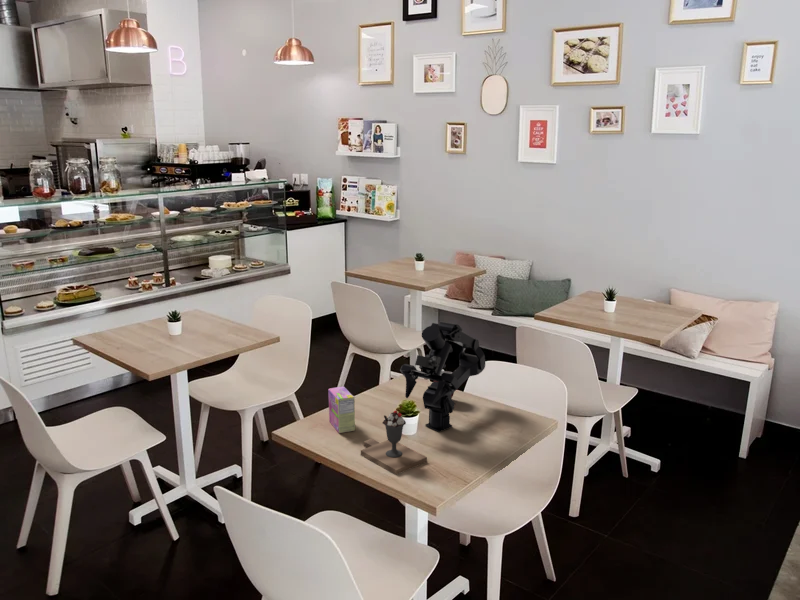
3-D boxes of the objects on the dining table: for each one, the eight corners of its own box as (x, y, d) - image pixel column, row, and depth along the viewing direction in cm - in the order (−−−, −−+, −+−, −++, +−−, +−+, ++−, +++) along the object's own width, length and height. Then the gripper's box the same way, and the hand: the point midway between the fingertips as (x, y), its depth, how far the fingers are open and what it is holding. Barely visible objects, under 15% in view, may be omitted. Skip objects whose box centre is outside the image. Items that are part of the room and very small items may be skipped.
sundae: (410, 453, 196) (410, 406, 193) (393, 461, 191) (394, 412, 188) (394, 446, 201) (394, 400, 197) (378, 453, 196) (378, 406, 192)
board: (352, 450, 201) (352, 445, 201) (382, 439, 209) (382, 434, 209) (396, 474, 187) (396, 470, 186) (426, 461, 195) (426, 457, 194)
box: (328, 421, 222) (328, 388, 219) (344, 418, 224) (344, 385, 221) (338, 434, 212) (337, 399, 209) (355, 431, 214) (355, 396, 212)
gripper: (403, 339, 210) (383, 382, 204) (455, 349, 200) (436, 395, 194) (416, 356, 218) (397, 398, 212) (466, 367, 208) (448, 411, 202)
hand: (419, 400), depth 205 cm, fingers open, 9 cm apart
